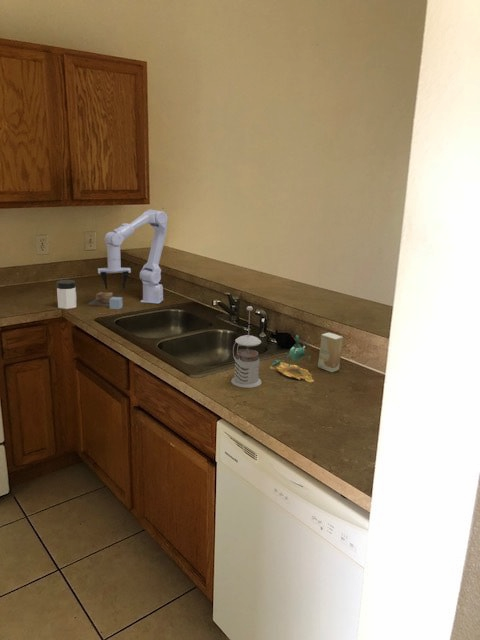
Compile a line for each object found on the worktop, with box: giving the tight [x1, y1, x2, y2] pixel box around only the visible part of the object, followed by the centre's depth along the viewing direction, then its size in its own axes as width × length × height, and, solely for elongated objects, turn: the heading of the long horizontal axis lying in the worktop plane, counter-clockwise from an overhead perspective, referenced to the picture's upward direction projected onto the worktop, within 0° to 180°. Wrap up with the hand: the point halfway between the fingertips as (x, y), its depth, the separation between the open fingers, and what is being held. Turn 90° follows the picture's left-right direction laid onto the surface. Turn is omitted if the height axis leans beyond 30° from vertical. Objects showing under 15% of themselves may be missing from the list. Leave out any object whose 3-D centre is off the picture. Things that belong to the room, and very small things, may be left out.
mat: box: [87, 298, 110, 307], centre depth 252 cm, size 12×12×1 cm
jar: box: [56, 279, 77, 310], centre depth 241 cm, size 9×8×12 cm
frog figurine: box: [269, 334, 315, 383], centre depth 174 cm, size 10×18×15 cm, turn 41°
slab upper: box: [95, 291, 114, 300], centre depth 251 cm, size 6×6×2 cm
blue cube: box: [109, 296, 124, 310], centre depth 243 cm, size 4×4×5 cm
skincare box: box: [317, 332, 344, 373], centre depth 180 cm, size 6×4×12 cm
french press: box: [230, 305, 262, 389], centre depth 165 cm, size 10×12×25 cm
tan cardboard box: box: [95, 298, 110, 304], centre depth 252 cm, size 6×6×2 cm
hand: (114, 288), depth 241 cm, fingers open, 7 cm apart
